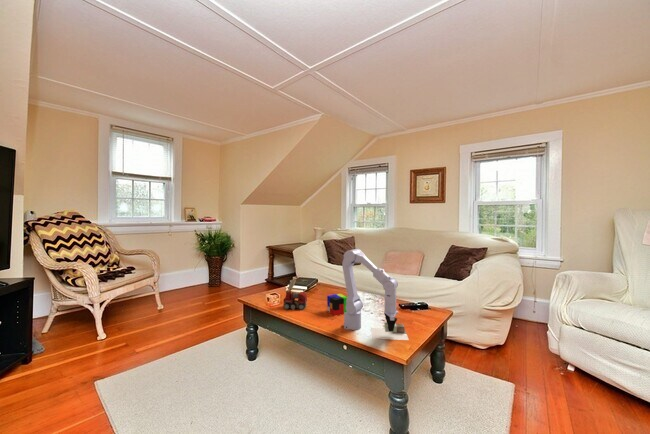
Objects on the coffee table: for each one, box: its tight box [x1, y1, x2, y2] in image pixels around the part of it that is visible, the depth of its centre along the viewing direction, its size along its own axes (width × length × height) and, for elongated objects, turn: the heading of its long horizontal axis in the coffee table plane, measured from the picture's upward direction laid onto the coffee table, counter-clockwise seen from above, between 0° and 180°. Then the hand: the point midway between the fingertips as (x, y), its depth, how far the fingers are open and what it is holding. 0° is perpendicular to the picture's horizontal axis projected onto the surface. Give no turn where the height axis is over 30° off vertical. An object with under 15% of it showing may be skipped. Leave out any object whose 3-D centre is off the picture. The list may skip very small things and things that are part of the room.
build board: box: [370, 327, 410, 341], centre depth 143 cm, size 18×13×1 cm
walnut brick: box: [396, 323, 406, 333], centre depth 146 cm, size 6×4×3 cm
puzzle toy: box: [326, 293, 348, 316], centre depth 177 cm, size 10×10×10 cm
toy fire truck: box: [283, 279, 308, 311], centre depth 187 cm, size 11×16×18 cm
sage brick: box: [384, 322, 397, 332], centre depth 140 cm, size 6×4×3 cm
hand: (390, 329), depth 140 cm, fingers closed on sage brick, 4 cm apart
